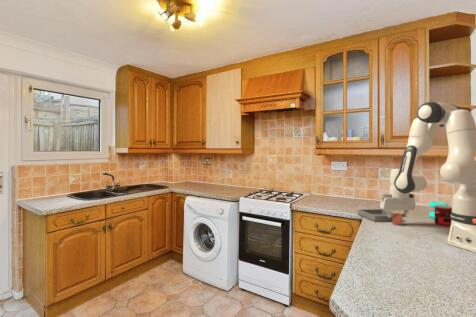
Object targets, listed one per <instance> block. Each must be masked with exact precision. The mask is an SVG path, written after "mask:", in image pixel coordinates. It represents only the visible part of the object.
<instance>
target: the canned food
mask: <svg viewBox="0 0 476 317" xmlns="http://www.w3.org/2000/svg"><path fill="white" fill-rule="evenodd" d="M434 212H435V218H433V220H434V224H435V225H437V226H444V227H451V216H450V215H451V212H452V206H449V205H448V206H446V205H435V208H434Z"/></svg>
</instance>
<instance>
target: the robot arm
mask: <svg viewBox="0 0 476 317" xmlns="http://www.w3.org/2000/svg"><path fill="white" fill-rule="evenodd" d="M416 115H417V116H416V118H415V119H413V120H412V123H411V125H410V129H409V131H408V132H409V133H408V140H407V144H406V147H405V149H404V151H403V154H402V158H401V162H400V166H399V167H395V168H392V169H391V170H390V175H389V183H390V187H389V192H388V193H389V194H383V195H381V198H380V199H381V200H380V205H379V206H380V207H379V209H382V210H386V212H387V214H388V217H389V218H390V217H392V215H391V214H390V212H392V211H404V212H403V213H402V214H403V218H407V217H408V216H407V215H408V214H409V212H410V211H414V210H415V208H416V199H415V198H416V195H415V194H413V193H414V192H420V191H423V190H425V188H426V187H427V180H426V178H425V177H424V176H423V175H421V174H418V173H414V169H415V165H416V162H417V160H418V159H419V158H420V156H422V155H423V154H425V153H427V152H428V151H430V149H431V147H432V146H433V141H434V135H435V134H434V133H435V129H436V128H437V127H440V128H442V127H444V128H445V133H446V139H447V148H448V153H447V158H446V161H445V162H444V163H443V164H442V166H441V167H440V170H439V175H440V177H441V179H442V180H443V181H444V182H446V183H449V184H454V185H459V188H458V189H457V191H456V192H455V193H453V195H452V196H451V198H452V200H451V207H452V212H451V215H450V216H451V226H449V232H448V235H447V239H446V241H447V242H446V244H447V245H450V246H453V247H456V248H460V249H463V250H466V251H468V250H469V251H468V252H472V253H475V254H476V160H475V155H476V121H475V118H474V116H473V114H472V113H471V111H470V110H467V109H462V108H460V107H459V106H458V105H456V104H452V103H451V104H450V103H446V102H443V101H441V102H440V101H439V102H438V101H437V102H436V101H428V102H425V103H422V104H421V105H420V106H419V107H418V108H417V111H416Z"/></svg>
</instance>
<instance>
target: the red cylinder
mask: <svg viewBox="0 0 476 317" xmlns="http://www.w3.org/2000/svg"><path fill="white" fill-rule="evenodd" d="M392 213H393V222H391V223H392V224H393V225H395V226H403V218H404V217H403V214H404V213H398V212H392Z"/></svg>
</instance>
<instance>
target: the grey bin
mask: <svg viewBox="0 0 476 317" xmlns="http://www.w3.org/2000/svg"><path fill="white" fill-rule="evenodd" d="M393 213H394V212H392V211H390V214H391V215H392V217H390V218H389V217H388V214H387V212H386V210H382V209H381V208H379V209H378V208H377V209H376V208H375V209H374V208H373V209H371V208H370V209H364V208H363V209H357V215H358V216H360V217H362V218H364V219H367V220H370V221H371V222H373V223H386V222H387V223H389V222H391V223H392V222H393Z"/></svg>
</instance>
